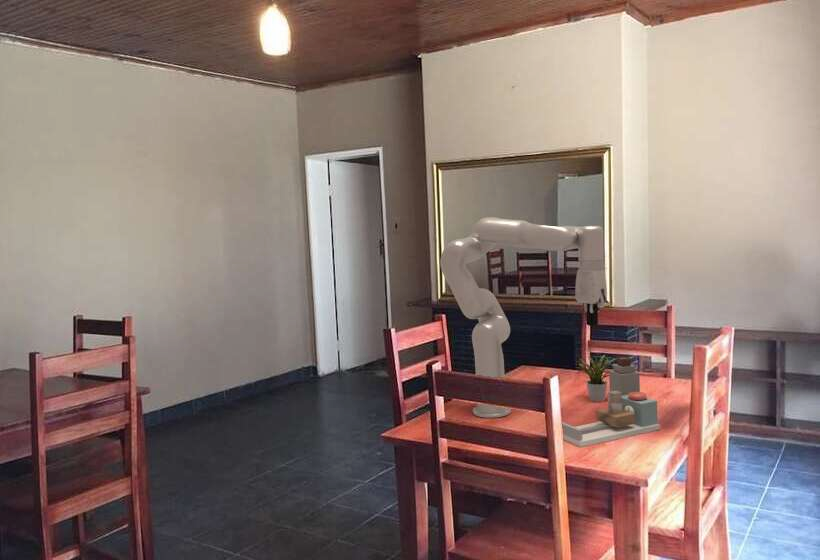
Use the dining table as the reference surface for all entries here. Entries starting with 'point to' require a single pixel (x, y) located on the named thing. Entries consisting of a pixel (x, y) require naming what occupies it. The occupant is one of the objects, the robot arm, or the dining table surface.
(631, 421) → the carriage
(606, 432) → the rail bed
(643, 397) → the button
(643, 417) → the end cabinet
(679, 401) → the dining table surface
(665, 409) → the dining table surface
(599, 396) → the house plant
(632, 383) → the perfume bottle
